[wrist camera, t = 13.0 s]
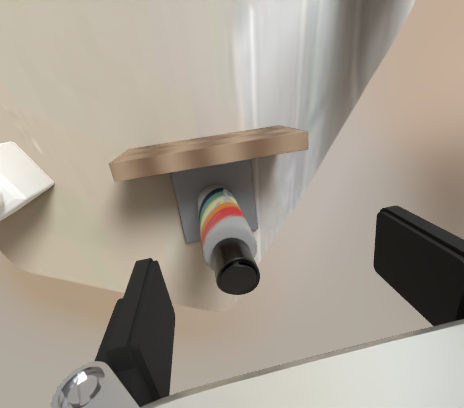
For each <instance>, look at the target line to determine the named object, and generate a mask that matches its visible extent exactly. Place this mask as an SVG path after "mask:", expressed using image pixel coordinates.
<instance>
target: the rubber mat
mask: <svg viewBox="0 0 464 408" xmlns="http://www.w3.org/2000/svg"><path fill="white" fill-rule="evenodd" d="M170 173H171V178H172V182H173V186H174V191H175V195H176V199H177V204H178V208H179V213H180V217H181V221H182V226H183V230H184V234H185V239H186V243H190V242H195V241H200V240H201V235H200V224H199V214H198V197H199V195H200V193H201V192H202V190H203V189H205V188H206V187H208V186H210V185H216V184H217V185H222V186H225V187H226V188H228V189H229V190H230V191H231V193H232V194H233V196H234V198H235V200H236V202H237V204H238V206H239V208H240V210H241V212H242V213H243V215H244V217H245V219H246V221H247V223H248V225H249V227H250V229H251V230H256V229H258V223H257V214H256V205H255V196H254V186H253V177H252V168H251V159H247V160H241V161H235V162H230V163H224V164H218V165H212V166H206V167H200V168H194V169H188V170H182V171H176V172H170Z"/></svg>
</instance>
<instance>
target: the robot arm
mask: <svg viewBox="0 0 464 408" xmlns="http://www.w3.org/2000/svg"><path fill="white" fill-rule="evenodd" d="M374 269H375V271H376V272H377V273H378V274H379V275H380V276H381V277H382V278H383V279H384V280H385V281H386V282H387V283H389V285H390V286H392V287H393V288H394V289H395V290H396V291H397V292H398V293H399V294H400V295H401V296H402V297H403V298H404V299H405V300H406V301H408V302H409V303H410V304H411V305H412V306H413V307H414V308H415V309H416V310H417V311H418V312H419V313H420V314H421V315H422V316H423V317H425V318H426V319H427V320H428V321H429V322H430V323H431V324H432V325H433V327H429V328H425V329H421V330H417V331H413V332H409V333H404V334H401V335H396V336H392V337H388V338H384V339H381V340H376V341H372V342H369V343H364V344H361V345H356V346H353V347H348V348H344V349H341V350H337V351H333V352H329V353H325V354H321V355H317V356H313V357H309V358H305V359H301V360H298V361H294V362H290V363H286V364H282V365H278V366H274V367H270V368H266V369H262V370H259V371H255V372H251V373H247V374H243V375H239V376H235V377H232V378H228V379H225V380H221V381H217V382H214V383H210V384H207V385H203V386H199V387H196V388H192V389H189V390H185V391H182V392H179V393H176V394H173V395H170V396H169V392H170V378H171V365H172V354H173V340H174V327H175V313H174V309H173V306H172V303H171V300H170V297H169V294H168V291H167V288H166V285H165V282H164V279H163V275H162V272H161V269H160V266H159V263H158V261H157V260H156V261H153V260H152V258H149V259H144V260H139V261H136V263H135V266H134V269H133V272H132V274H131V277H130V280H129V283H128V286H127V289H126V292H125V295H124V297H123V298H122V299H119V300H118V301H117V303H116V305H115V308H114V310H113V313H112V316H111V318H110V321H109V324H108V327H107V330H106V332H105V335H104V337H103V340H102V343H101V345H100V348H99V351H98V353H97V356H96V359H95V361H94V362H90V363H87V364H85V365H83V366H81V367H79V368H77V369H76V370H74V371H73V372H72V373H71V374H69V376H67V377H66V378H65V379H64V380H63V382H62V383H61V384H60V385H59V387H58V388H57V390H56V392H55V394H54V395H53V398H52V402H51V408H464V240H463V239H461V238H459V237H457V236H455V235H453V234H451V233H449V232H447V231H446V230H444V229H442V228H440V227H438V226H436V225H434V224H432V223H430V222H428V221H426V220H424V219H422V218H420V217H419V216H416V215H415V214H413V213H411V212H409V211H407V210H405V209H403V208H401V207H399V206H391V207H386V208H382V209H381V210H380V212H379V213H378V214H377V222H376V237H375V251H374Z"/></svg>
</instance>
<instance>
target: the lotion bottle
mask: <svg viewBox="0 0 464 408" xmlns="http://www.w3.org/2000/svg"><path fill="white" fill-rule="evenodd" d="M198 214H199V224H200V235H201V244H202V253H203V257H204V260H205V262H206V264H207V265H208V266H209V267H210V268H211V269H213V270H214V271H215V277H216V282H217V285H218V287H219V288H220V289H221V290H222V291H223V292H225V293H228V294H233V295H241V294H246V293H249V292H251V291H252V290H254V289H255V288H256V287H257V285H258V283H259V279H260V273H259V269H258V267H257V264H256V262H255V260H254V258H255V255H256V251H257V245H256V240H255V238H254V235H253V233H252V231H251V229H250V227H249V225H248V223H247V221H246V219H245V217H244V215H243V213H242V212H241V210H240V208H239V206H238V204H237V202H236V200H235V198H234V196H233V194H232V193H231V191H230V190H229V189H228V188H226V187H225V186H222V185H217V184H216V185H210V186H208V187H206V188H205V189H203V190H202V192H201V193H200V195H199V197H198Z"/></svg>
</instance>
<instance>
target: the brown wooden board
mask: <svg viewBox="0 0 464 408" xmlns="http://www.w3.org/2000/svg"><path fill="white" fill-rule="evenodd" d="M307 149H308V131H303V130H298V129H294V128H289V127H284V126H273V127H266V128H260V129H254V130H247V131H241V132H235V133H228V134H222V135H216V136H209V137H203V138H196V139H190V140H184V141H177V142H171V143H165V144H158V145H152V146H146V147H139V148H133V149H128V150H127V151H126V152H124V153H123V154H121V155H120V156H119V157H117V158H116V159H115V160H113V161H112V162H111V163H109V166H110V169H111V172H112V176H113V179H114V182H117V181H123V180H129V179H135V178H141V177H147V176H153V175H158V174H164V173H170V172H176V171H182V170H188V169H194V168H200V167H206V166H212V165H218V164H224V163H230V162H235V161H241V160H247V159H253V158H259V157H265V156H271V155H277V154H283V153H289V152H295V151H301V150H307Z"/></svg>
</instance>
